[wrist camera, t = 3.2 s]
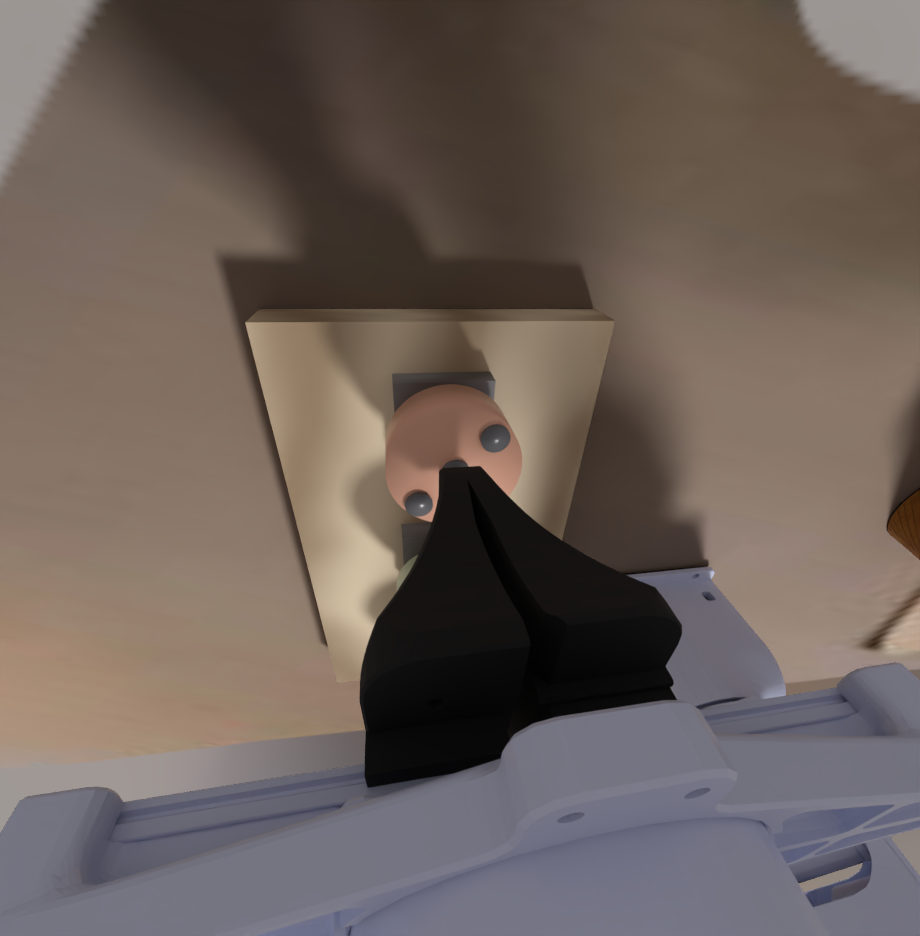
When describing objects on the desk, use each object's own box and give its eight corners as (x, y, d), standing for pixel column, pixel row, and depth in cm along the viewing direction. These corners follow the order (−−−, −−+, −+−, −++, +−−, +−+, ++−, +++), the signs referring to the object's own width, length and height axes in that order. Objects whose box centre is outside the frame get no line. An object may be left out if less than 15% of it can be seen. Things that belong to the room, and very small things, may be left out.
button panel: (594, 309, 18) (627, 327, 15) (525, 633, 31) (537, 670, 29) (259, 308, 16) (236, 330, 13) (340, 655, 29) (335, 697, 27)
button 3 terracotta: (514, 382, 15) (532, 408, 13) (502, 487, 17) (515, 521, 16) (380, 386, 14) (380, 413, 12) (389, 495, 17) (389, 530, 15)
